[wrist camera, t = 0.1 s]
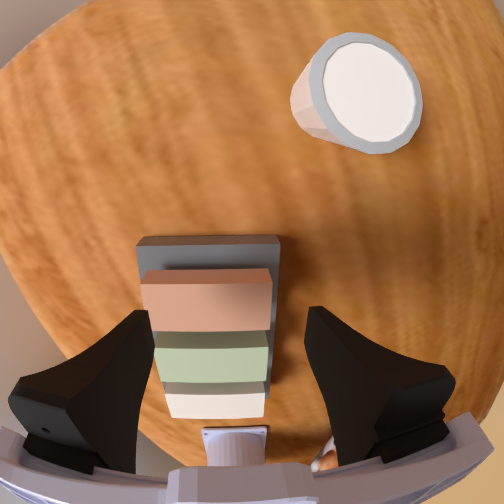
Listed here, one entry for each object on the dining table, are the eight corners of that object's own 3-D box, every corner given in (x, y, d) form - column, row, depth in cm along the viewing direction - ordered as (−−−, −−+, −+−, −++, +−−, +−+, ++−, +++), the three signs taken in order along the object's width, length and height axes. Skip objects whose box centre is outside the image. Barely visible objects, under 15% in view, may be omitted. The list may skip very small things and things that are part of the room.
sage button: (262, 363, 22) (266, 380, 20) (164, 364, 21) (161, 381, 19) (264, 329, 21) (268, 346, 19) (157, 330, 20) (152, 347, 18)
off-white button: (260, 400, 24) (263, 416, 22) (173, 401, 23) (171, 417, 21) (262, 375, 22) (265, 392, 21) (167, 376, 22) (164, 393, 20)
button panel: (266, 384, 27) (268, 398, 25) (169, 385, 26) (167, 399, 25) (275, 234, 21) (280, 243, 20) (143, 236, 20) (135, 246, 19)
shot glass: (266, 73, 17) (287, 42, 11) (350, 54, 17) (398, 27, 10) (300, 161, 20) (336, 171, 13) (379, 136, 19) (436, 139, 13)
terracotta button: (265, 313, 20) (269, 329, 18) (154, 314, 19) (148, 330, 18) (267, 268, 19) (272, 282, 17) (147, 270, 18) (139, 284, 16)
